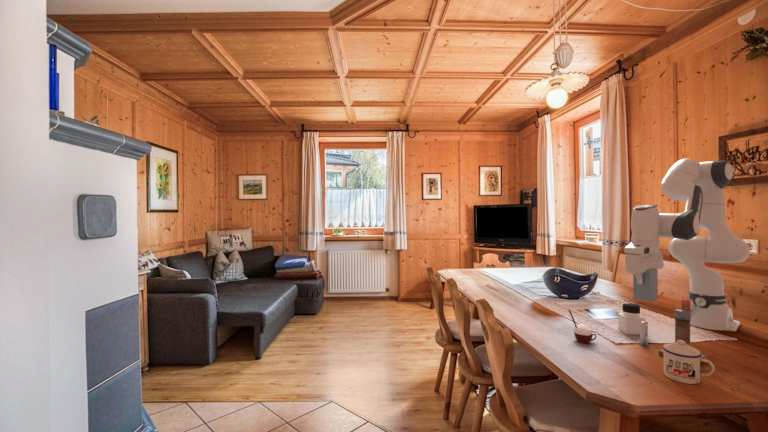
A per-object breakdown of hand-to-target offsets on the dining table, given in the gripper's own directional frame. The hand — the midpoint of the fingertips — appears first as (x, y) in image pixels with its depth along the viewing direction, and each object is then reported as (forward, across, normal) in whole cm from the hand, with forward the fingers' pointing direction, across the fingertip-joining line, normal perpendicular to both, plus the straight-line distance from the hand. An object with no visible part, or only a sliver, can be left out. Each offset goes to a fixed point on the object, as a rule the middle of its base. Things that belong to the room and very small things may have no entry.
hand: (645, 282), depth 133 cm
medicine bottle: (+24, -8, -9) cm, 27 cm away
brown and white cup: (+24, +19, -13) cm, 33 cm away
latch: (+10, -4, +11) cm, 16 cm away
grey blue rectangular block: (+6, 0, 0) cm, 6 cm away
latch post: (+24, +3, +13) cm, 27 cm away
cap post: (+24, +3, +1) cm, 24 cm away
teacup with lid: (+24, +20, +21) cm, 37 cm away
